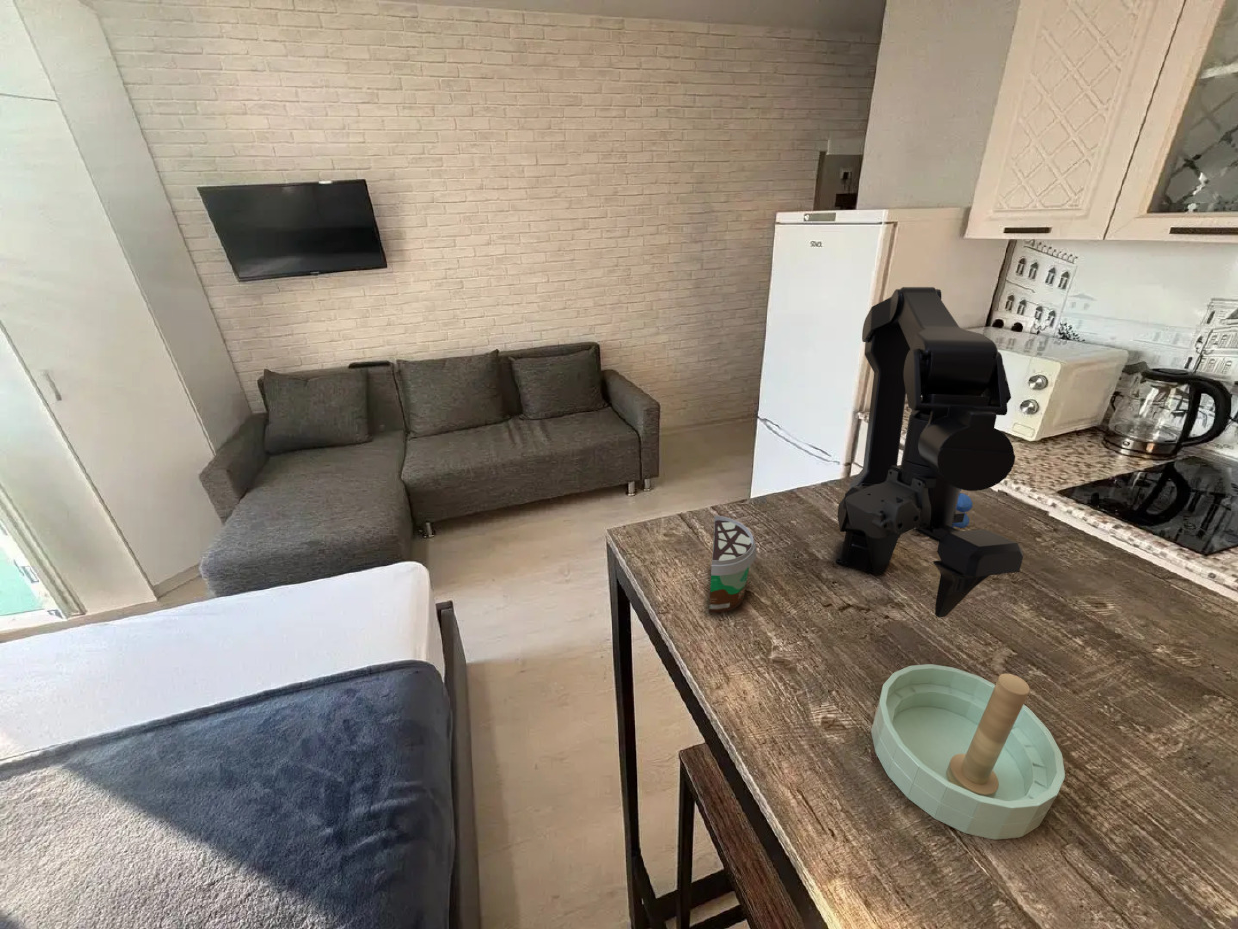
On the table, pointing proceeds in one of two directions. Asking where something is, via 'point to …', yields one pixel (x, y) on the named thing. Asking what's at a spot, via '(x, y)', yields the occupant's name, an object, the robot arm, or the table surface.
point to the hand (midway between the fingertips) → (907, 594)
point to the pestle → (989, 738)
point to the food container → (730, 563)
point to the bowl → (963, 752)
